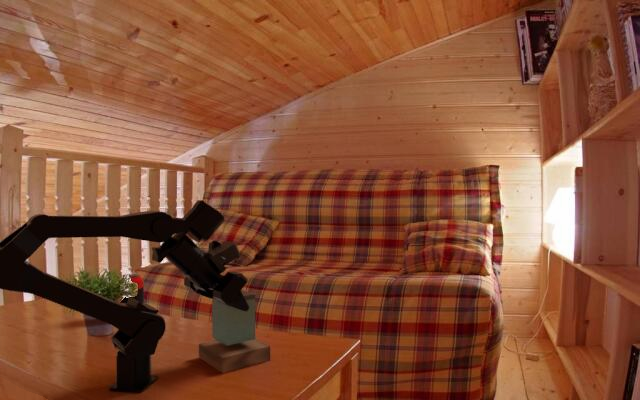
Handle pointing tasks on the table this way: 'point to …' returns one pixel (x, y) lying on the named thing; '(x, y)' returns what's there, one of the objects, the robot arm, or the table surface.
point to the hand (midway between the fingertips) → (239, 306)
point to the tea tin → (233, 321)
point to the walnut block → (234, 354)
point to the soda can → (140, 294)
